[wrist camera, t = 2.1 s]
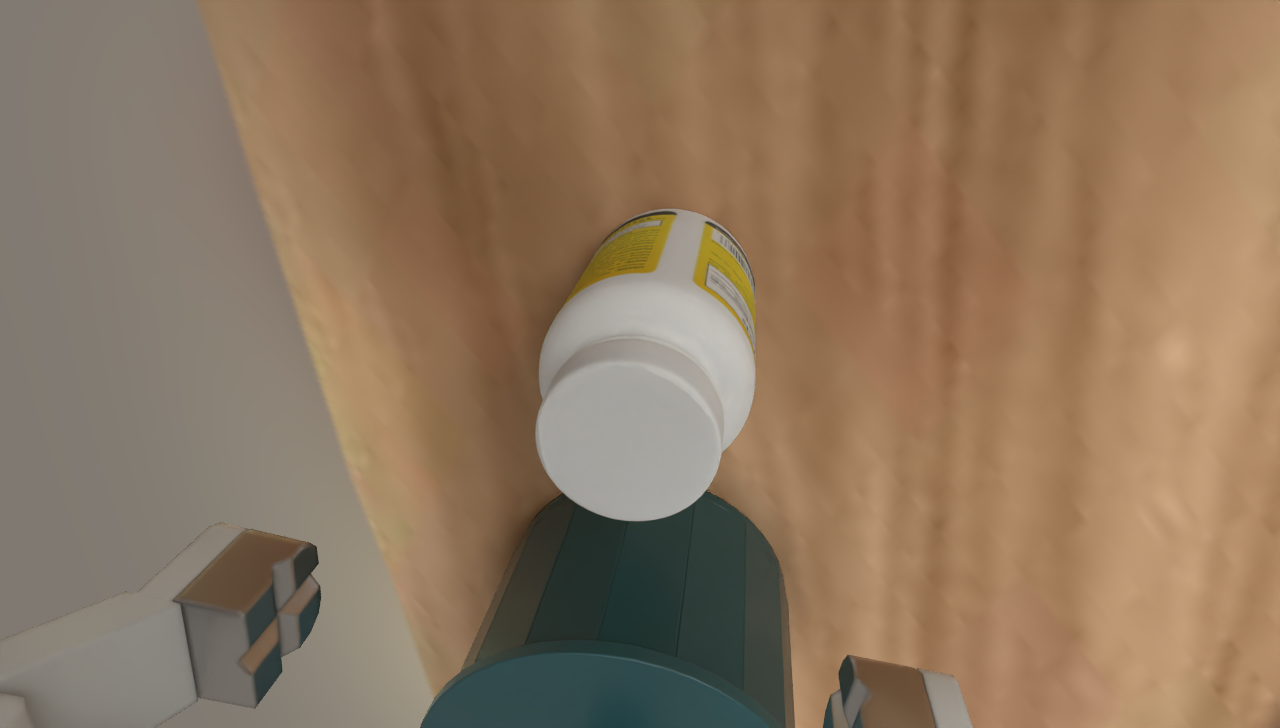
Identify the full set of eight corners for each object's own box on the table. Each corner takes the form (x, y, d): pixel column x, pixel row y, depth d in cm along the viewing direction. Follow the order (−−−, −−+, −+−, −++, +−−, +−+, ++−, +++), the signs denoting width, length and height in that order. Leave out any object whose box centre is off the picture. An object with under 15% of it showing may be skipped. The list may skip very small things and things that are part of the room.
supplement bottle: (575, 333, 25) (478, 502, 16) (616, 182, 23) (528, 287, 14) (723, 381, 25) (706, 577, 16) (781, 236, 23) (797, 376, 14)
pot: (525, 450, 27) (438, 616, 20) (814, 507, 27) (838, 701, 19) (510, 654, 32) (435, 850, 25) (753, 707, 32) (753, 925, 24)
